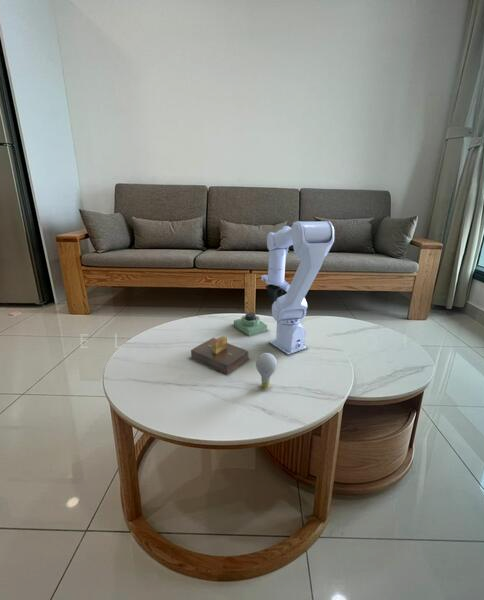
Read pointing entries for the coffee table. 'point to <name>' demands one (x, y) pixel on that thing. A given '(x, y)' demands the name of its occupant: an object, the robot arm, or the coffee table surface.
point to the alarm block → (250, 325)
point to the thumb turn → (219, 344)
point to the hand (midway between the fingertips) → (274, 304)
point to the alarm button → (250, 316)
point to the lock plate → (220, 356)
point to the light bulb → (266, 367)
